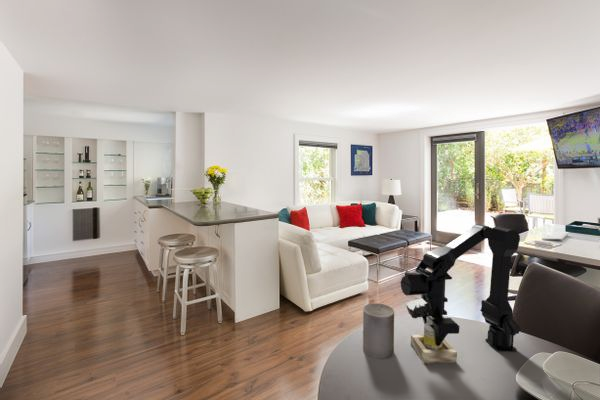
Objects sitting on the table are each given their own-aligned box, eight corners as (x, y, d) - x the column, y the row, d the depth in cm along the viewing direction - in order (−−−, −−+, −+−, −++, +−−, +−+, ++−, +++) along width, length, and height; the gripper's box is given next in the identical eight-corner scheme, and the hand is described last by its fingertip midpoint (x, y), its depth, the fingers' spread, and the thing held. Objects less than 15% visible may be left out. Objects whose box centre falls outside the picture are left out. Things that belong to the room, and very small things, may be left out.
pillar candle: (379, 339, 101) (379, 297, 100) (400, 354, 93) (401, 308, 92) (356, 346, 97) (356, 302, 96) (376, 363, 88) (377, 315, 87)
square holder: (440, 344, 98) (440, 334, 98) (456, 363, 88) (457, 352, 88) (410, 344, 98) (410, 334, 98) (423, 363, 88) (424, 352, 88)
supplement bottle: (438, 343, 96) (439, 314, 95) (444, 353, 90) (446, 322, 89) (421, 342, 96) (422, 314, 95) (426, 352, 91) (427, 322, 90)
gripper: (398, 282, 101) (397, 326, 102) (422, 305, 82) (420, 358, 83) (430, 282, 101) (429, 325, 102) (461, 305, 83) (459, 358, 84)
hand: (433, 340), depth 93 cm, fingers closed on supplement bottle, 5 cm apart
